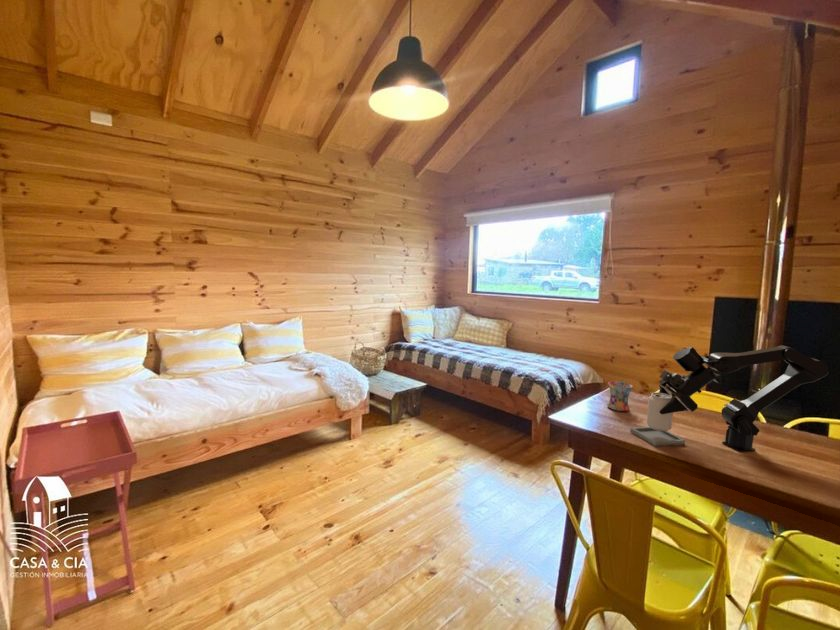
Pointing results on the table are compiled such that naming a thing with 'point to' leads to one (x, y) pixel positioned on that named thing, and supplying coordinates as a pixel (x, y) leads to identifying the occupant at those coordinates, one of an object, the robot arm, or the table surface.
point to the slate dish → (657, 437)
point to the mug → (619, 395)
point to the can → (654, 416)
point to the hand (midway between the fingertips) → (656, 409)
